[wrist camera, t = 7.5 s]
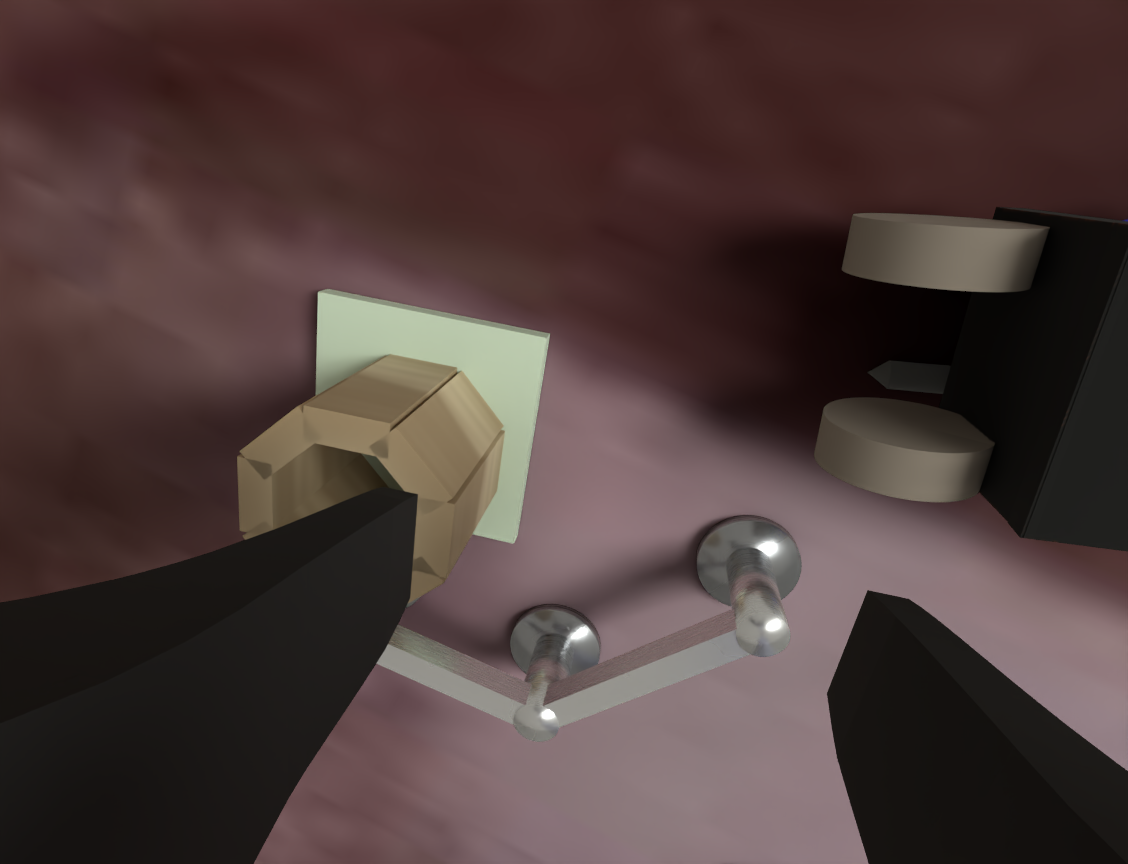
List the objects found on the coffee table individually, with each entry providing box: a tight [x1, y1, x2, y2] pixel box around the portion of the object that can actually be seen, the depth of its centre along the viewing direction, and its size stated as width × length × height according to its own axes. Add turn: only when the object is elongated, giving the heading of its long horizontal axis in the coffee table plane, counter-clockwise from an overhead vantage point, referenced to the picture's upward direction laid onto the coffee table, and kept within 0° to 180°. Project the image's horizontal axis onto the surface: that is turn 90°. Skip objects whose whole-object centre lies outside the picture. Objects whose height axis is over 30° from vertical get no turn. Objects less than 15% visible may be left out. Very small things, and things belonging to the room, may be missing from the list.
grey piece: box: [376, 516, 801, 742], centre depth 20 cm, size 8×15×4 cm, turn 81°
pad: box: [316, 289, 550, 544], centre depth 20 cm, size 7×7×1 cm
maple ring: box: [237, 354, 505, 603], centre depth 18 cm, size 6×6×5 cm
